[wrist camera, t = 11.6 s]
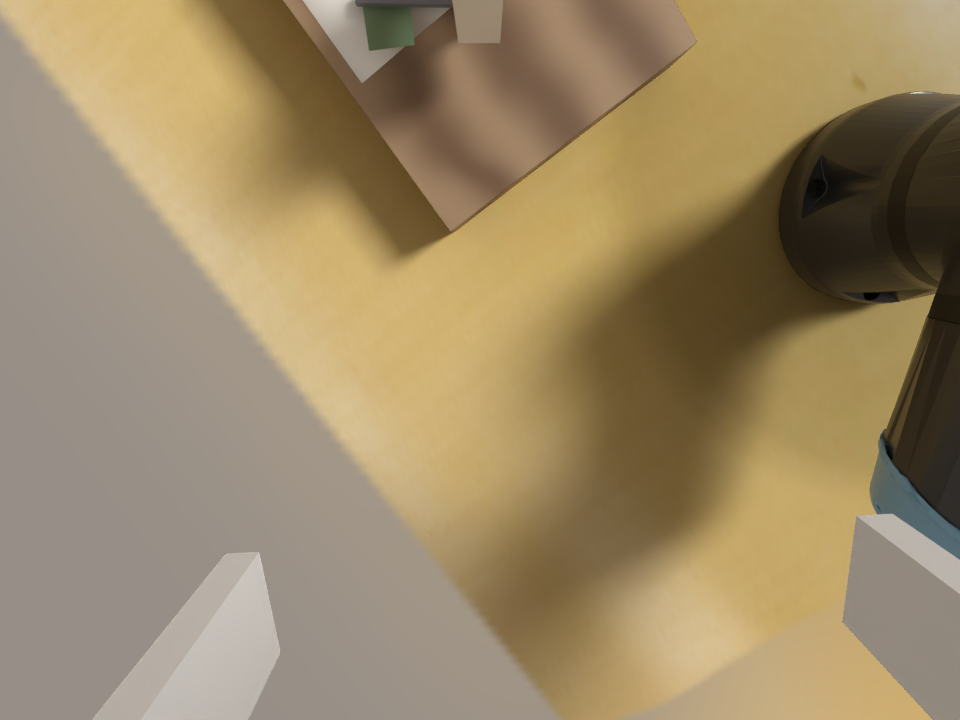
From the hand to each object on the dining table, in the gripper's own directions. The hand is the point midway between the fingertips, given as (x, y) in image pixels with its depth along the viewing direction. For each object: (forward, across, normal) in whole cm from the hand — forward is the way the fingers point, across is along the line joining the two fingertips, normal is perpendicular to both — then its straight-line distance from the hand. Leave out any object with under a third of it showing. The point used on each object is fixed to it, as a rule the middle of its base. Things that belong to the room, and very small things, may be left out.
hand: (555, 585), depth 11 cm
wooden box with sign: (+32, -1, +24) cm, 39 cm away
